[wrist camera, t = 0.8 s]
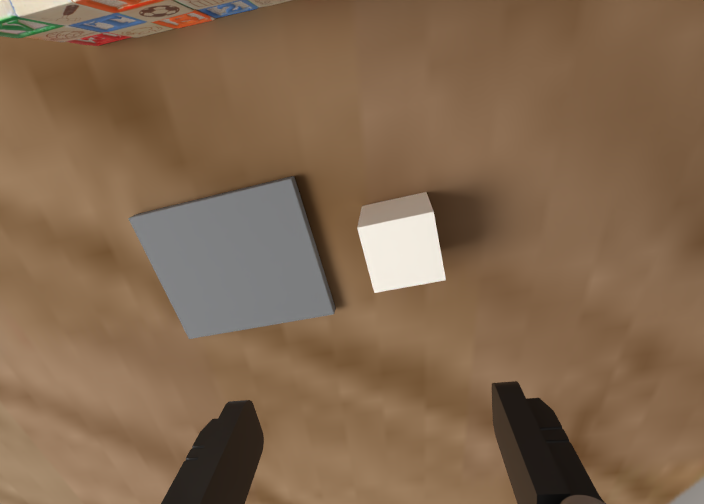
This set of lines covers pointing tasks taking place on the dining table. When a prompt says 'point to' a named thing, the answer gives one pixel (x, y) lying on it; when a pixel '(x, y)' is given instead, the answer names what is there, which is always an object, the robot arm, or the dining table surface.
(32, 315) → the dining table surface
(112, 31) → the stack of blocks
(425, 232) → the white cube
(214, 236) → the rubber mat
